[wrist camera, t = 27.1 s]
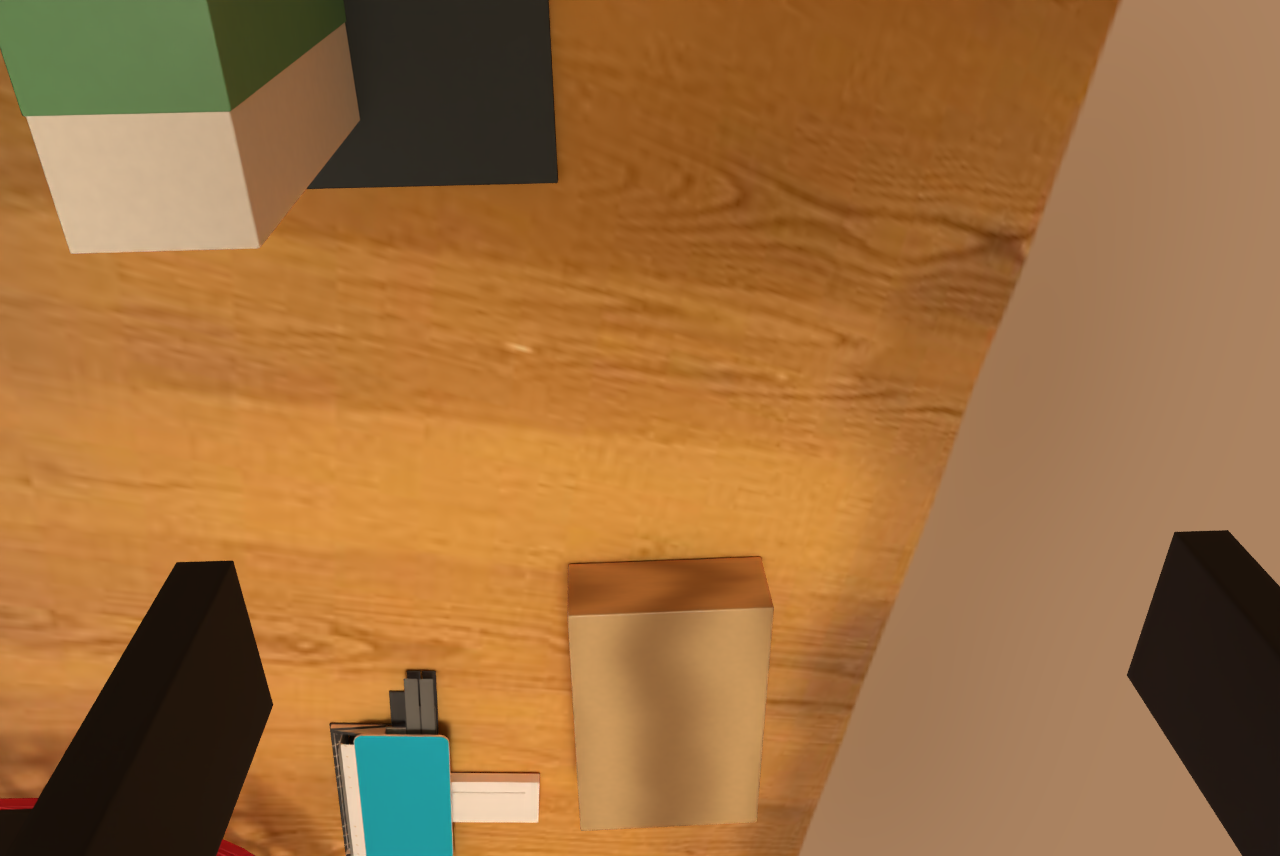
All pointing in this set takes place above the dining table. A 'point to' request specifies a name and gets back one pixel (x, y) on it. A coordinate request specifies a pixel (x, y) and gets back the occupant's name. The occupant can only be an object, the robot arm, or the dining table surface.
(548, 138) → the mat
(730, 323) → the dining table surface
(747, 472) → the dining table surface
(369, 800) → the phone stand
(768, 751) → the dining table surface
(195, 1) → the packet
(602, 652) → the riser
